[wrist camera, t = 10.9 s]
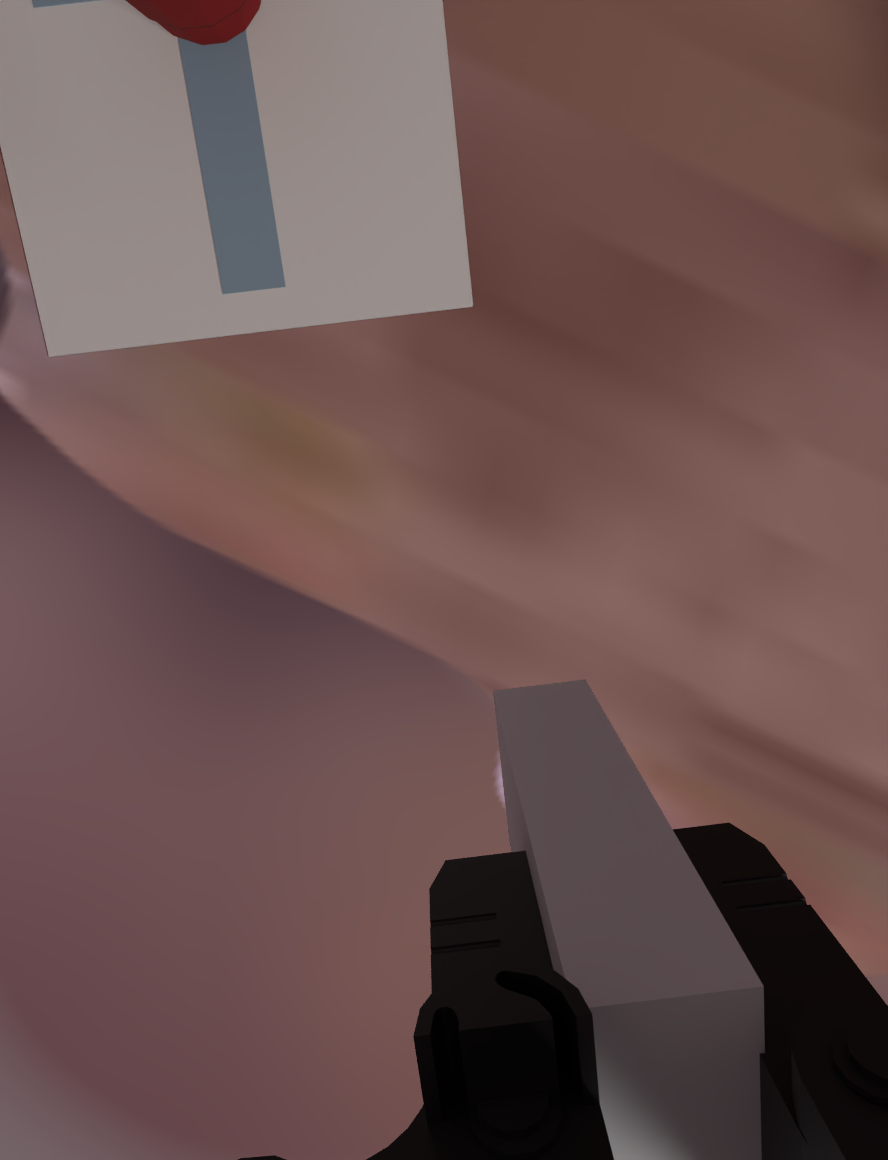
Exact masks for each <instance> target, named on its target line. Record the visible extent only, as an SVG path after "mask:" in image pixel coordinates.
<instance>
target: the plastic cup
mask: <svg viewBox="0 0 888 1160" xmlns="http://www.w3.org/2000/svg"><path fill="white" fill-rule="evenodd" d="M125 1H127V2H128V3H129V4H131V5H132V6H133V7H134V8H136V9H137V10H138V11H139V12H141V13H142V14H143V15H145V16H146V17H147V18H148V19H150V20H153V21H156V22H157V23H158V24H160V25H161V26H162V27H163V28H164V29H166V30H167V31H168V32H169V33H171V34H172V35H173V36H176V37H179V38H182V39H185V40H188V41H191V42H194V43H197V44H200V45H209V44H218V43H226V42H227V41H229V40H231V39H232V38H234V37H235V36H237V35H238V34H240V33H242V32H243V31H245V30H246V29H247V27H248V26H249V24H250V23H251V21H252V19H253V18H254V16H255V15H256V13H257V12H258V10H259V8H260V5H261V0H125Z"/></svg>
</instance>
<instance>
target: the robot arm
mask: <svg viewBox="0 0 888 1160" xmlns="http://www.w3.org/2000/svg"><path fill="white" fill-rule="evenodd" d="M493 694H494V704H495V713H496V722H497V731H498V741H499V750H500V759H501V768H502V778H503V787H504V796H505V805H506V815H507V824H508V833H509V841H510V846H511V851H512V852H510V853H502V854H494V855H486V856H477V857H470V858H461V859H453V860H446V861H445V862H444V864H443V866H442V868H441V870H440V871H439V873H438V875H437V877H436V878H435V880H434V882H433V884H432V885H431V887H430V922H431V928H430V932H431V975H432V976H431V979H432V994H431V995H430V997H429V998H428V999H427V1000H426V1002H425V1003H424V1004H423V1006H422V1007H421V1008H420V1011H419V1016H418V1020H417V1024H416V1028H415V1032H414V1042H415V1049H416V1056H417V1062H418V1069H419V1075H420V1082H421V1089H422V1095H423V1102H424V1105H423V1107H422V1109H421V1110H420V1112H419V1113H418V1114H417V1116H416V1117H415V1119H414V1120H413V1122H412V1123H411V1124H410V1126H409V1127H408V1129H406V1130H405V1131H404V1132H403V1133H402V1134H401V1135H400V1136H399V1137H398V1138H397V1139H396V1140H395V1141H394V1142H393V1143H391V1144H390V1145H389V1146H388V1147H387V1148H385V1149H383V1150H382V1151H380V1152H378V1153H377V1154H375V1155H373V1156H372V1157H370V1158H368V1159H367V1160H888V1006H887V1005H886V1004H885V1002H884V1001H883V999H882V998H881V997H880V995H879V994H878V993H877V992H876V990H875V989H874V988H873V986H872V985H871V984H870V982H869V981H868V980H867V978H866V977H865V976H864V975H863V973H862V972H861V971H860V969H859V968H858V967H857V965H856V964H855V963H854V961H853V960H852V959H851V958H850V956H849V955H848V954H847V952H846V951H845V950H844V948H843V947H842V946H841V944H840V943H839V942H838V941H837V939H836V938H835V937H834V935H833V934H832V933H831V931H830V930H829V929H828V927H827V926H826V925H825V924H824V922H823V921H822V920H821V918H820V917H819V916H818V914H817V913H816V912H815V910H814V909H813V908H812V907H811V905H807V904H806V900H805V897H804V896H803V895H802V893H801V892H800V891H799V890H798V888H797V887H796V886H795V884H794V883H793V882H792V880H788V879H787V875H786V873H785V871H784V870H783V869H782V867H781V866H780V865H779V863H778V862H777V861H776V859H775V858H774V857H773V856H772V854H771V853H770V852H769V850H768V849H767V848H766V846H765V845H764V844H762V843H761V842H759V841H757V840H756V839H754V838H753V837H751V836H750V835H748V834H746V833H745V832H743V831H742V830H740V829H738V828H737V827H735V826H734V825H732V824H730V823H723V824H714V825H706V826H698V827H690V828H682V829H673V830H672V828H671V826H670V824H669V823H668V821H667V819H666V817H665V816H664V814H663V812H662V811H661V809H660V807H659V805H658V804H657V802H656V800H655V799H654V797H653V795H652V793H651V792H650V790H649V788H648V787H647V785H646V783H645V781H644V780H643V778H642V776H641V774H640V773H639V771H638V769H637V768H636V766H635V764H634V762H633V761H632V759H631V757H630V756H629V754H628V752H627V750H626V749H625V747H624V745H623V743H622V742H621V740H620V738H619V737H618V735H617V733H616V731H615V730H614V728H613V726H612V725H611V723H610V721H609V719H608V718H607V716H606V714H605V713H604V711H603V709H602V707H601V706H600V704H599V702H598V700H597V699H596V697H595V695H594V694H593V692H592V690H591V688H590V687H589V685H588V683H587V682H586V680H578V681H569V682H561V683H553V684H545V685H536V686H528V687H520V688H512V689H504V690H495V691H493ZM238 1160H286V1159H283V1158H280V1157H277V1156H263V1157H251V1158H240V1159H238Z"/></svg>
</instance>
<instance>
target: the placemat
mask: <svg viewBox="0 0 888 1160" xmlns="http://www.w3.org/2000/svg"><path fill="white" fill-rule="evenodd" d="M0 147H1V151H2V155H3V160H4V164H5V168H6V173H7V177H8V181H9V186H10V190H11V194H12V199H13V203H14V207H15V212H16V216H17V220H18V225H19V229H20V233H21V238H22V242H23V246H24V251H25V255H26V259H27V264H28V268H29V272H30V277H31V281H32V285H33V290H34V294H35V298H36V303H37V307H38V311H39V316H40V320H41V324H42V329H43V333H44V337H45V342H46V346H47V350H48V355H49V357H53V356H62V355H70V354H79V353H87V352H95V351H104V350H112V349H121V348H129V347H137V346H146V345H154V344H163V343H171V342H180V341H188V340H196V339H205V338H213V337H222V336H230V335H239V334H247V333H255V332H264V331H272V330H281V329H289V328H298V327H306V326H314V325H323V324H331V323H340V322H348V321H357V320H365V319H373V318H382V317H390V316H399V315H407V314H416V313H424V312H432V311H441V310H449V309H458V308H466V307H473V300H472V290H471V280H470V270H469V260H468V250H467V240H466V230H465V220H464V211H463V201H462V191H461V181H460V171H459V161H458V151H457V141H456V131H455V121H454V111H453V101H452V91H451V82H450V72H449V62H448V52H447V42H446V32H445V22H444V12H443V2H442V0H261V5H260V8H259V10H258V12H257V13H256V15H255V16H254V18H253V19H252V21H251V23H250V24H249V26H248V27H247V29H246V30H245V31H243V32H242V33H240V34H238V35H237V36H235V37H234V38H232V39H231V40H229V41H227V42H226V43H218V44H209V45H200V44H197V43H194V42H191V41H188V40H185V39H182V38H179V37H176V36H173V35H172V34H171V33H169V32H168V31H167V30H166V29H164V28H163V27H162V26H161V25H160V24H158V23H157V22H156V21H153V20H150V19H148V18H147V17H146V16H145V15H143V14H142V13H141V12H139V11H138V10H137V9H136V8H134V7H133V6H132V5H131V4H129V3H128V2H127V1H125V0H0Z"/></svg>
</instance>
